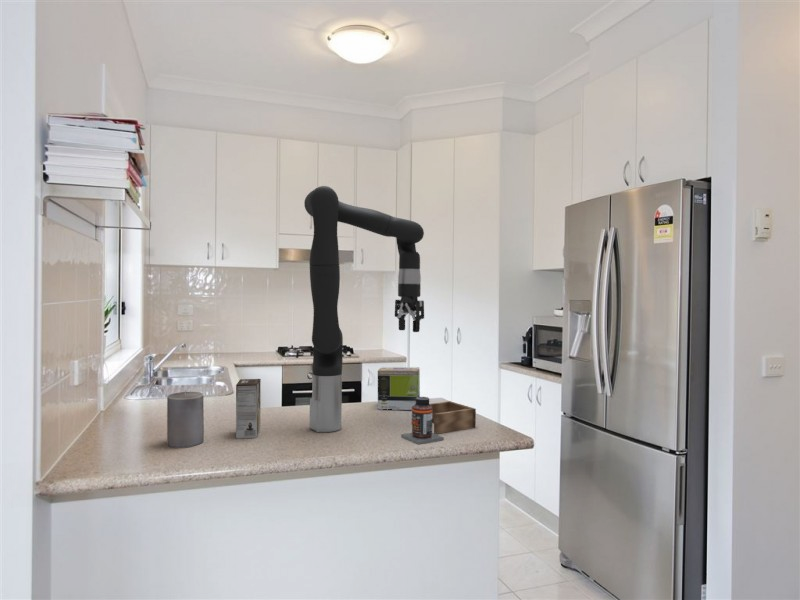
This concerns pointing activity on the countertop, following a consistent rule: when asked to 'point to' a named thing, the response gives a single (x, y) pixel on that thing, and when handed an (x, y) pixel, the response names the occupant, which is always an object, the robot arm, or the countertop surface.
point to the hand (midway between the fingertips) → (408, 331)
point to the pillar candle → (185, 419)
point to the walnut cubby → (452, 417)
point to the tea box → (398, 387)
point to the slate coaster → (422, 440)
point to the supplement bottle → (422, 418)
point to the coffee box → (248, 408)
